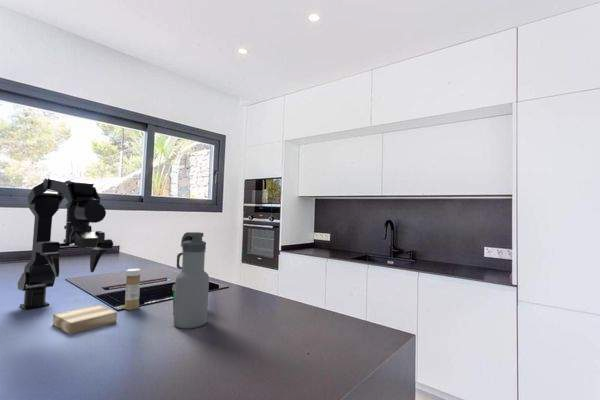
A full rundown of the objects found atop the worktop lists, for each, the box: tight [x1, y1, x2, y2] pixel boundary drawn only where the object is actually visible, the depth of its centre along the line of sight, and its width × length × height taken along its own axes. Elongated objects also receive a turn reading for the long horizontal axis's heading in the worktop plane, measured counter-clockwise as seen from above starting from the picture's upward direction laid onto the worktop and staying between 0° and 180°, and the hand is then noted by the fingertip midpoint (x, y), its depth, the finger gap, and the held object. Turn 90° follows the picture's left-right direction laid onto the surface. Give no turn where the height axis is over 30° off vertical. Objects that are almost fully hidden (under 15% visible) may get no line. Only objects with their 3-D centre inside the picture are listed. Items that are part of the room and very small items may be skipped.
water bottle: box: [173, 231, 210, 330], centre depth 96 cm, size 10×10×28 cm
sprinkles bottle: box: [124, 268, 142, 311], centre depth 108 cm, size 5×5×14 cm
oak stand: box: [52, 304, 118, 335], centre depth 92 cm, size 12×12×3 cm
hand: (75, 274), depth 93 cm, fingers open, 9 cm apart
